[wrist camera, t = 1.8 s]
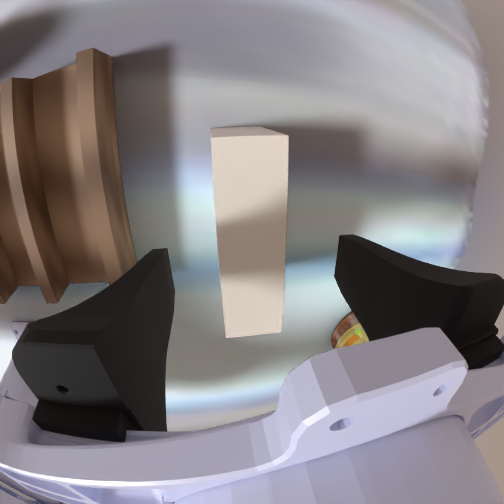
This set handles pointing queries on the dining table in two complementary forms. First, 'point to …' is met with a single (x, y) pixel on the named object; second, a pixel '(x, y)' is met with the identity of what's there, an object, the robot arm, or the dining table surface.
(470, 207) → the dining table surface
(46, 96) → the rack
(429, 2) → the dining table surface
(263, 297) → the beige rectangular block
